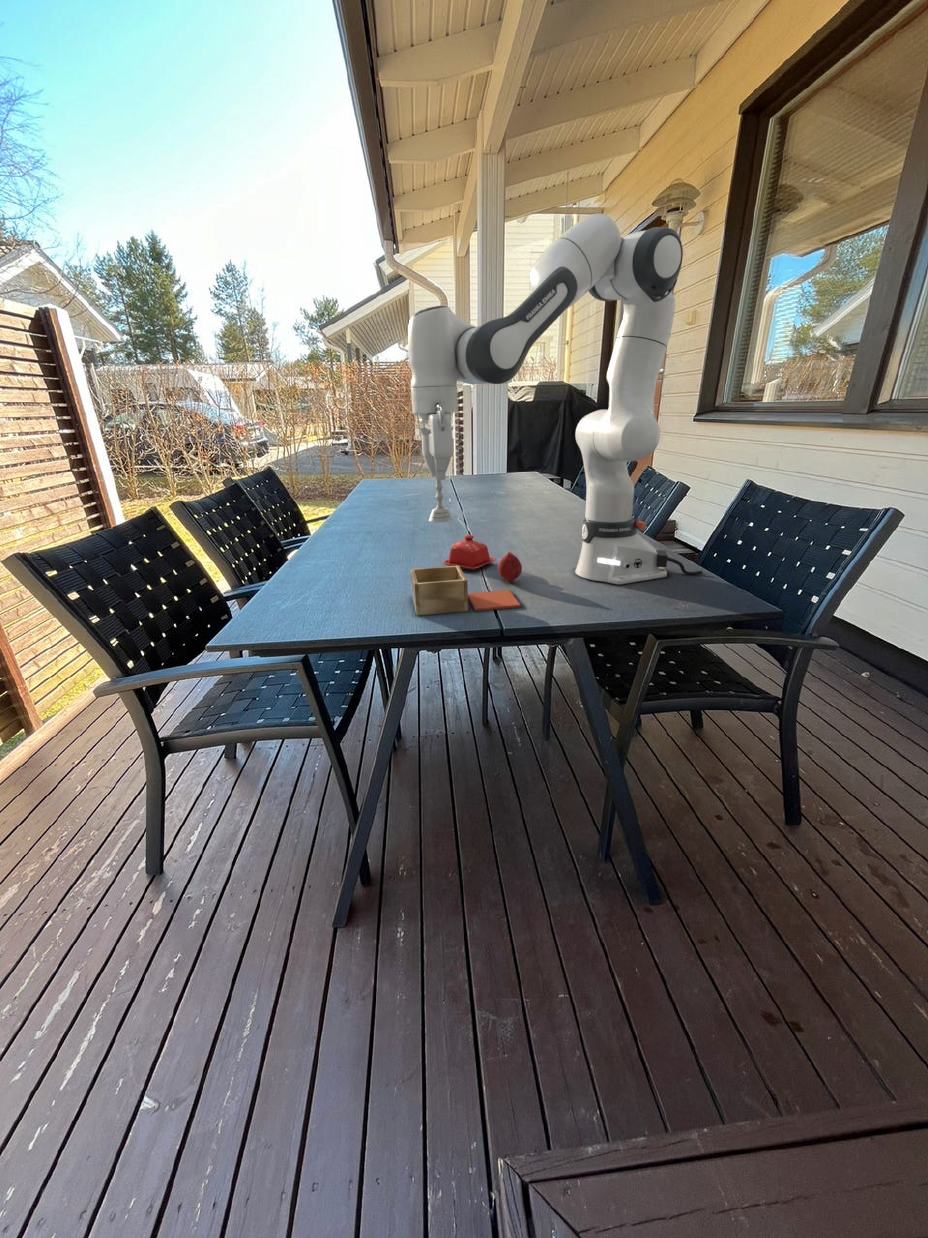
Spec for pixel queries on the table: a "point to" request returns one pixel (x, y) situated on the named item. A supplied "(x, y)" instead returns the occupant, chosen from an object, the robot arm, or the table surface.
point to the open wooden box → (439, 590)
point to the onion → (509, 567)
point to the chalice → (439, 512)
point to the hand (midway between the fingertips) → (438, 477)
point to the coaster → (493, 600)
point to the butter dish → (469, 554)
